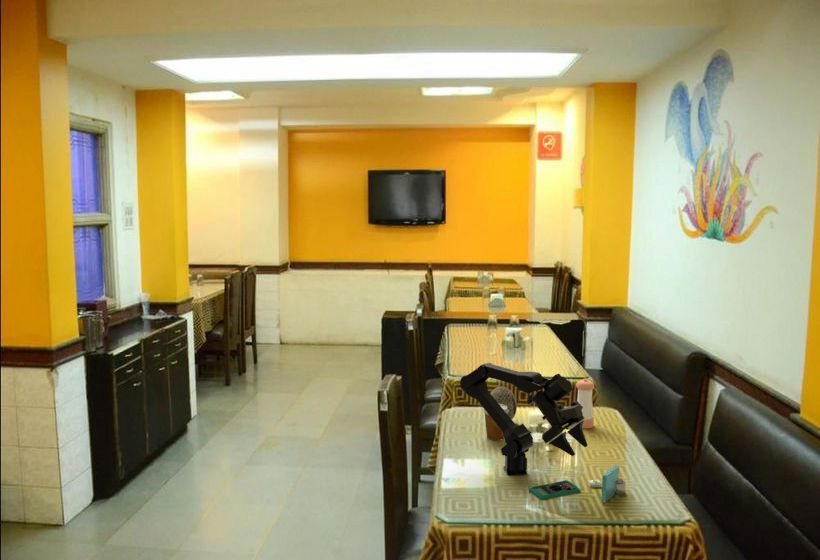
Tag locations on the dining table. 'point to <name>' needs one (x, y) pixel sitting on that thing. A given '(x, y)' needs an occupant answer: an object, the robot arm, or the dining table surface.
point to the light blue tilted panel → (612, 484)
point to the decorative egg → (505, 399)
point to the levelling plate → (594, 483)
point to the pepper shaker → (586, 401)
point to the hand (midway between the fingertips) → (580, 450)
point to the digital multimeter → (554, 490)
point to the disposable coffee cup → (494, 426)
